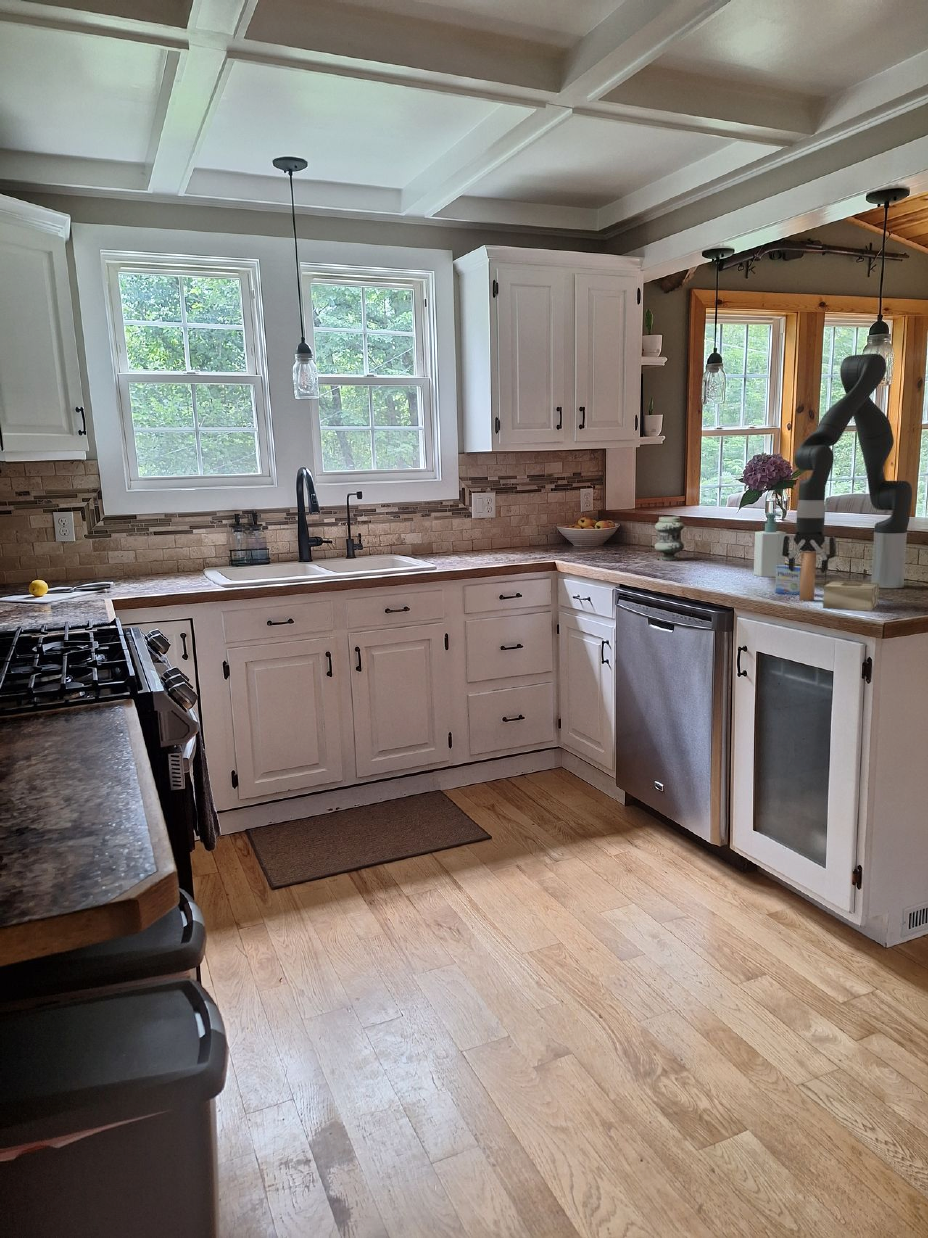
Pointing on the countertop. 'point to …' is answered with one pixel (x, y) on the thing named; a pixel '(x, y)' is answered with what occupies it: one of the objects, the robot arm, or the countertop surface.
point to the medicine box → (787, 580)
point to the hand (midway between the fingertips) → (807, 572)
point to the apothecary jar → (669, 537)
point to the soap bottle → (768, 549)
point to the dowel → (807, 576)
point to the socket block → (851, 595)
